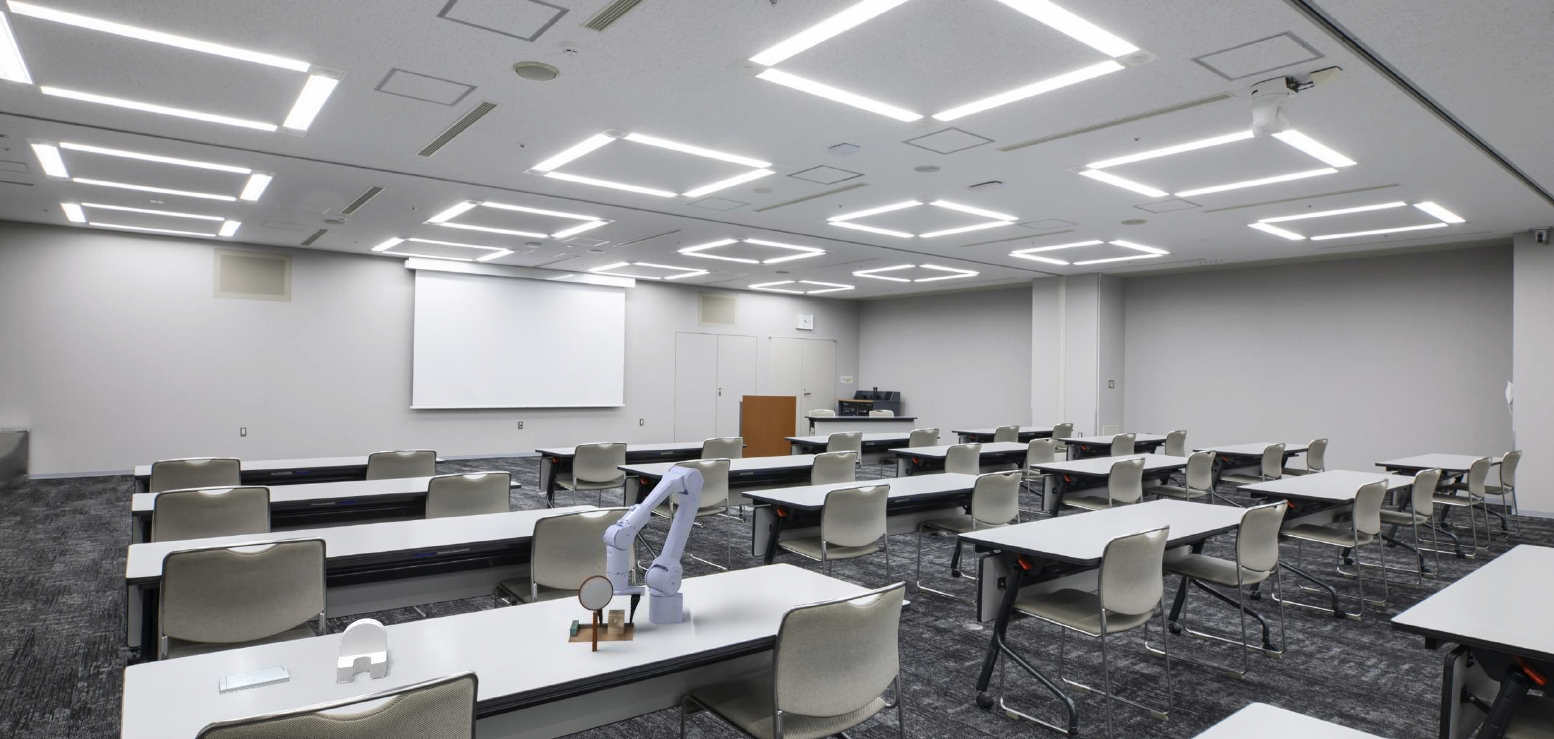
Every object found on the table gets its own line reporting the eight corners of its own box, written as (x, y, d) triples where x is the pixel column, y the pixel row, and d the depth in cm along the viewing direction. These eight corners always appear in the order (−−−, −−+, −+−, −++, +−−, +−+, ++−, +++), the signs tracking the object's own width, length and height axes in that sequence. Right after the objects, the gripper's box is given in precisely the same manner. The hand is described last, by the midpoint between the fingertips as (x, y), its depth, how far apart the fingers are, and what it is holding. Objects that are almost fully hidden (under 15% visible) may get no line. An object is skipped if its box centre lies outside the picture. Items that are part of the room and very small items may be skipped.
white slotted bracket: (336, 684, 169) (337, 635, 169) (342, 656, 185) (343, 611, 185) (385, 678, 173) (386, 630, 173) (387, 651, 189) (388, 607, 189)
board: (633, 631, 206) (634, 618, 206) (632, 646, 196) (632, 632, 196) (572, 633, 204) (573, 619, 204) (567, 648, 193) (568, 634, 193)
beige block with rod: (624, 625, 207) (625, 606, 207) (622, 637, 197) (623, 618, 197) (609, 625, 206) (609, 607, 206) (607, 638, 197) (607, 618, 197)
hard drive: (286, 664, 176) (219, 676, 168) (289, 676, 169) (220, 689, 162) (286, 671, 176) (219, 683, 168) (289, 683, 169) (219, 696, 162)
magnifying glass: (577, 660, 185) (579, 577, 185) (575, 658, 187) (577, 576, 187) (612, 655, 189) (614, 574, 189) (610, 653, 191) (612, 572, 191)
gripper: (587, 575, 197) (586, 628, 197) (645, 575, 199) (643, 627, 199) (590, 568, 204) (588, 619, 204) (645, 568, 206) (644, 618, 206)
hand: (615, 622), depth 202 cm, fingers open, 7 cm apart
